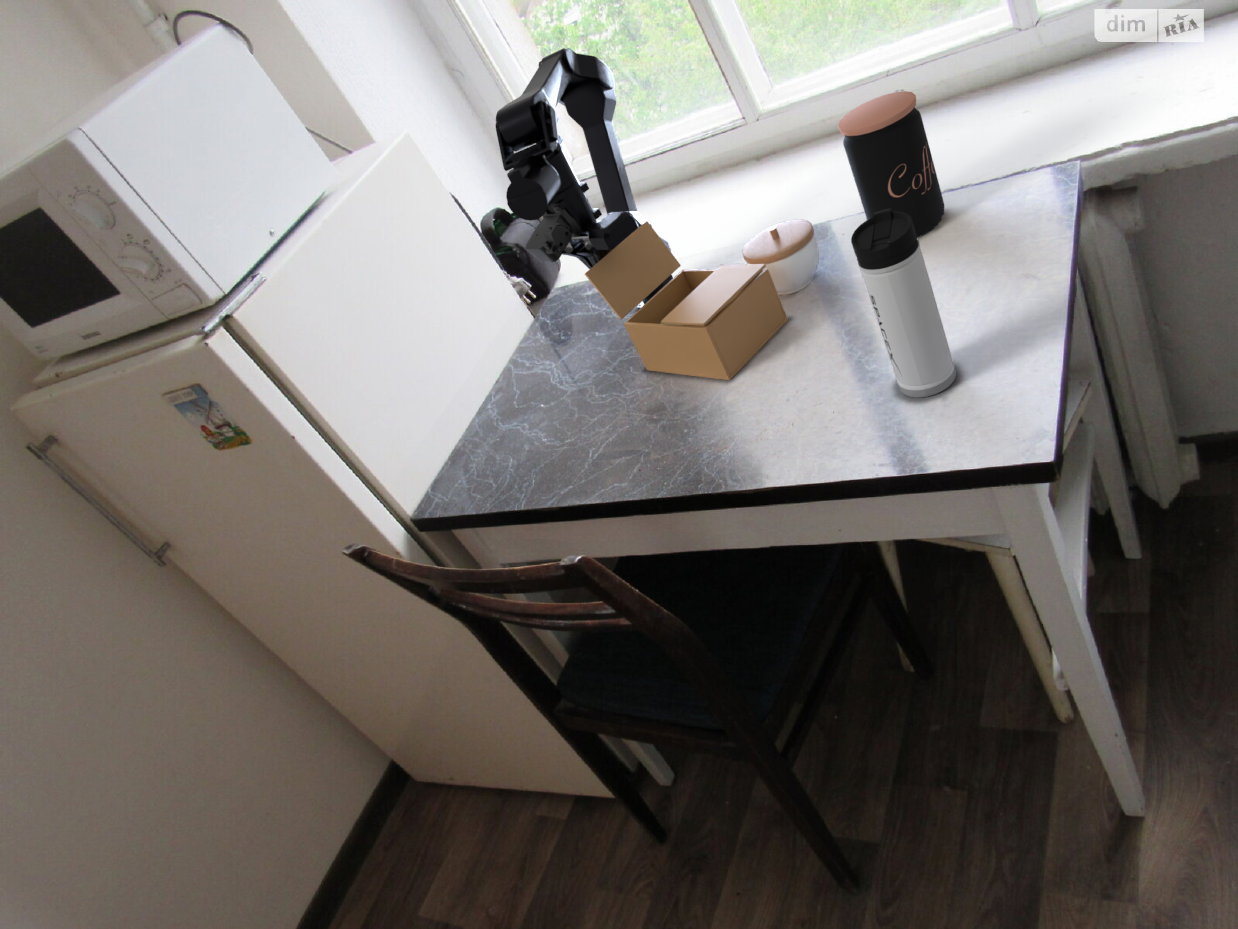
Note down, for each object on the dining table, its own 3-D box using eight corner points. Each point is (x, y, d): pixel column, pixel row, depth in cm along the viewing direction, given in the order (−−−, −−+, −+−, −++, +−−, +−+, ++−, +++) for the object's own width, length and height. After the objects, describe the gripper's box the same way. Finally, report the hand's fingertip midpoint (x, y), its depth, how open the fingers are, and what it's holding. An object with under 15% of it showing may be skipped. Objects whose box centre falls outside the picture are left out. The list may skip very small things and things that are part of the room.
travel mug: (957, 358, 99) (913, 200, 88) (955, 392, 94) (908, 230, 84) (901, 368, 102) (852, 217, 92) (897, 402, 97) (845, 247, 87)
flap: (621, 319, 125) (620, 320, 126) (681, 265, 131) (679, 266, 131) (585, 273, 123) (584, 273, 124) (647, 220, 129) (645, 221, 129)
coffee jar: (907, 250, 123) (871, 131, 114) (858, 240, 132) (822, 129, 123) (963, 210, 125) (932, 89, 115) (911, 203, 134) (879, 90, 124)
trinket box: (825, 255, 133) (805, 200, 128) (832, 286, 125) (811, 228, 120) (758, 280, 137) (737, 228, 132) (761, 312, 128) (738, 257, 123)
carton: (647, 370, 130) (620, 319, 125) (703, 315, 136) (680, 264, 131) (729, 380, 117) (703, 323, 112) (788, 319, 123) (765, 263, 118)
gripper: (484, 221, 126) (536, 311, 134) (558, 215, 112) (611, 315, 120) (537, 181, 130) (584, 270, 138) (615, 170, 116) (662, 270, 124)
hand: (607, 281), depth 130 cm, fingers closed
